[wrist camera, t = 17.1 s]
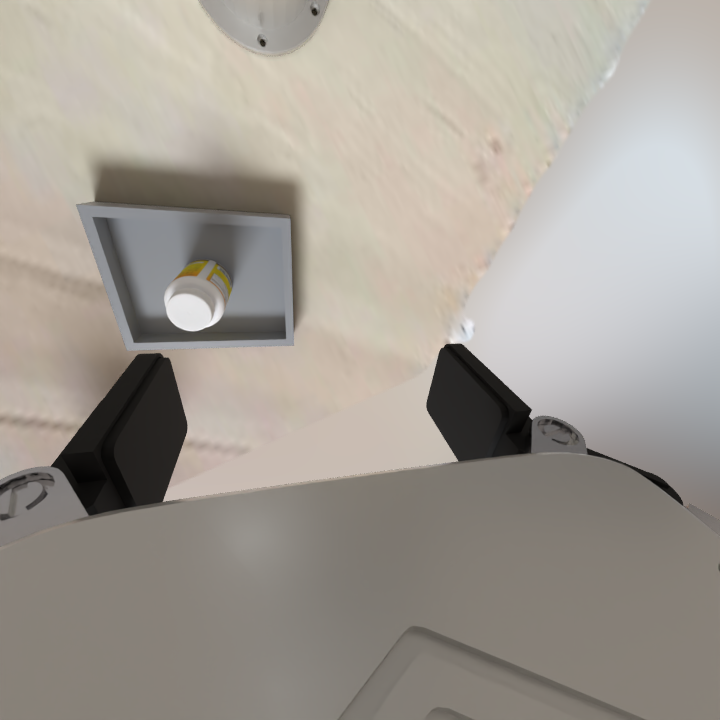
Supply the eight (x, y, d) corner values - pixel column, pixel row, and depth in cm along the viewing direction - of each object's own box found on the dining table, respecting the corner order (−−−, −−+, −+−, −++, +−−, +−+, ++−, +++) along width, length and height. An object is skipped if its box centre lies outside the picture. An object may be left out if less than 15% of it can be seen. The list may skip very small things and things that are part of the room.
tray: (94, 201, 32) (76, 204, 29) (289, 214, 37) (290, 218, 34) (138, 337, 40) (126, 350, 37) (293, 334, 45) (293, 345, 42)
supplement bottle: (177, 290, 37) (148, 325, 29) (192, 249, 35) (164, 273, 27) (224, 309, 40) (209, 346, 31) (240, 271, 38) (229, 300, 29)
